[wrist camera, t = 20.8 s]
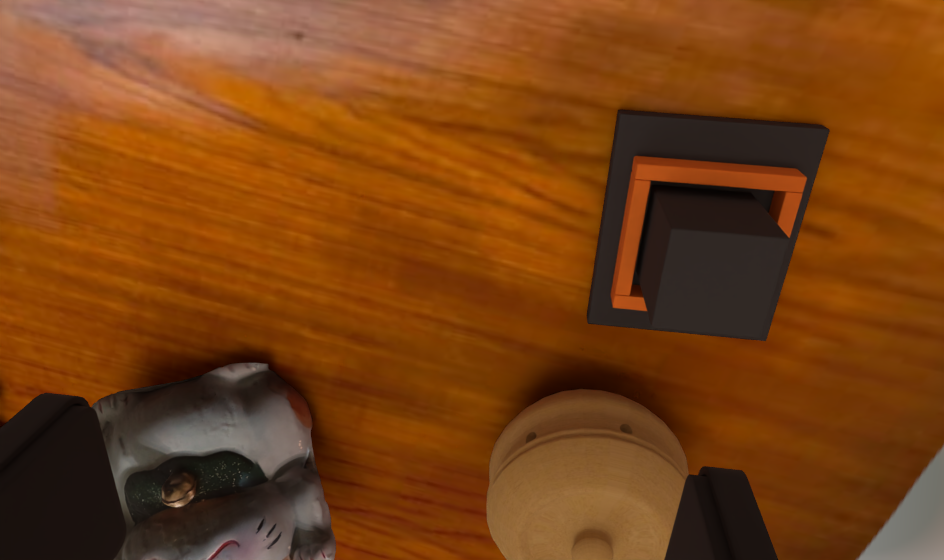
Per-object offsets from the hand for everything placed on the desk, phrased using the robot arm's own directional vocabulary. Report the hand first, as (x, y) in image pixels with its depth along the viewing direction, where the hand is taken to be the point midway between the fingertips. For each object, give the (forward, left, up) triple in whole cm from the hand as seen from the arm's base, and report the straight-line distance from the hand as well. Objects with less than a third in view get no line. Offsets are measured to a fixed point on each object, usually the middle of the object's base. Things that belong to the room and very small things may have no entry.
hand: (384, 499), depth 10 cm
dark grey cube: (+5, +11, -25) cm, 28 cm away
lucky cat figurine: (+23, -16, -26) cm, 39 cm away
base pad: (+5, +11, -26) cm, 29 cm away
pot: (+20, +7, -26) cm, 34 cm away
